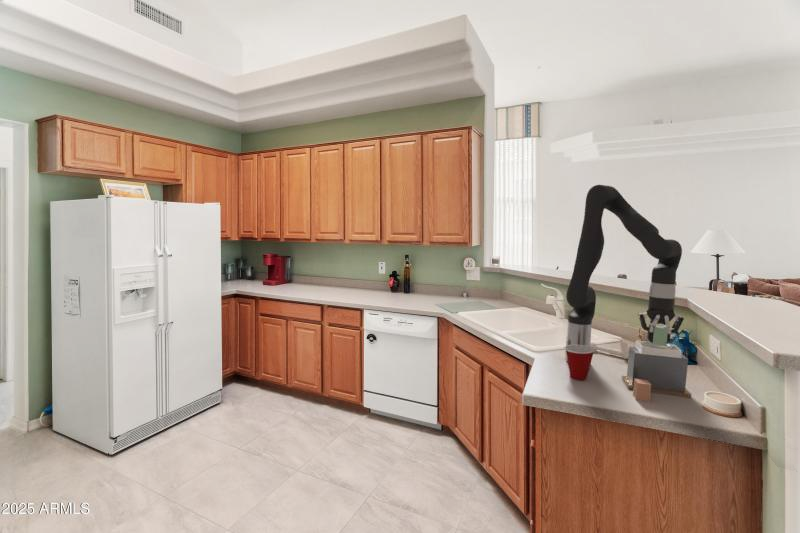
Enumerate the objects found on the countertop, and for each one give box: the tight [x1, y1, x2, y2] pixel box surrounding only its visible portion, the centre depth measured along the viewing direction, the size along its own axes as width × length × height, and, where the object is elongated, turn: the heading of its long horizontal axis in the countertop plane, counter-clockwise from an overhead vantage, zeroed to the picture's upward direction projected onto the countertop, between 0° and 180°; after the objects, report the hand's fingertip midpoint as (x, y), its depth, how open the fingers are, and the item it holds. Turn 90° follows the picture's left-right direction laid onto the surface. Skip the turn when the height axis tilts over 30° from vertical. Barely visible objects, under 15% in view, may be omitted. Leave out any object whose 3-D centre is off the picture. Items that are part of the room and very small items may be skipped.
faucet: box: [590, 336, 629, 360], centre depth 172 cm, size 4×18×10 cm, turn 43°
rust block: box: [632, 379, 652, 403], centre depth 126 cm, size 4×4×6 cm
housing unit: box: [621, 340, 692, 398], centre depth 135 cm, size 19×10×16 cm, turn 71°
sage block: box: [651, 325, 668, 346], centre depth 134 cm, size 4×4×6 cm
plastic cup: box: [563, 345, 595, 381], centre depth 143 cm, size 11×11×12 cm
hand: (658, 342), depth 134 cm, fingers closed on sage block, 4 cm apart
